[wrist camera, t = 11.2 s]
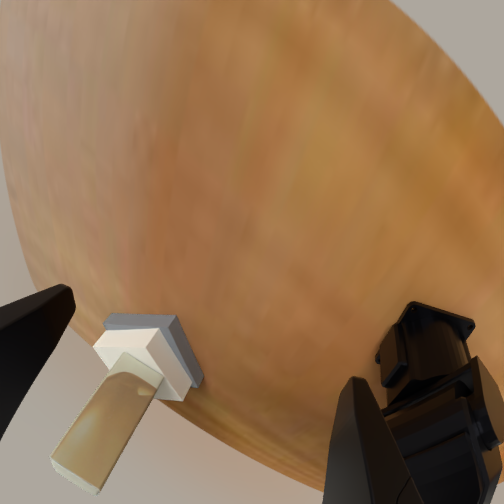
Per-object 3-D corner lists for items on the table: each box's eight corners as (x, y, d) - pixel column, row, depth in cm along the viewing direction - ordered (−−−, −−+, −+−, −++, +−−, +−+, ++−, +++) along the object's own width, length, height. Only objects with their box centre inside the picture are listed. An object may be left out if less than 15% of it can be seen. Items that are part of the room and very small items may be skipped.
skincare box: (151, 401, 29) (96, 498, 19) (114, 378, 29) (53, 470, 18) (167, 374, 25) (100, 493, 15) (123, 347, 25) (47, 458, 15)
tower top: (158, 328, 27) (145, 347, 24) (192, 382, 29) (182, 401, 27) (106, 330, 29) (92, 346, 27) (139, 378, 32) (129, 395, 30)
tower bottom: (180, 309, 28) (168, 327, 26) (206, 370, 32) (198, 388, 30) (115, 308, 31) (102, 323, 29) (145, 363, 34) (135, 379, 32)
